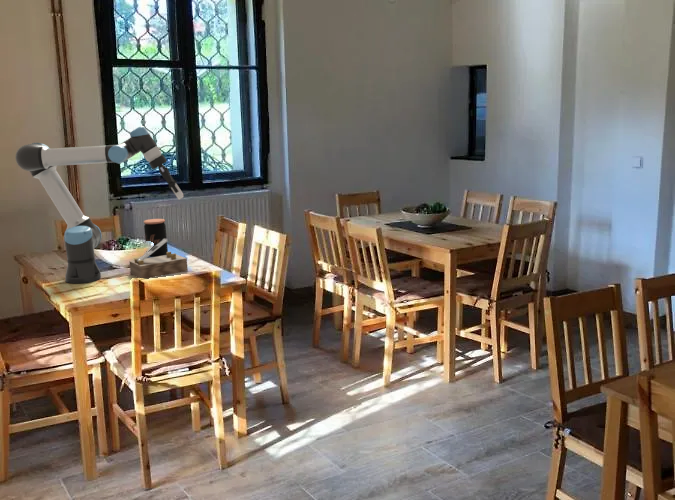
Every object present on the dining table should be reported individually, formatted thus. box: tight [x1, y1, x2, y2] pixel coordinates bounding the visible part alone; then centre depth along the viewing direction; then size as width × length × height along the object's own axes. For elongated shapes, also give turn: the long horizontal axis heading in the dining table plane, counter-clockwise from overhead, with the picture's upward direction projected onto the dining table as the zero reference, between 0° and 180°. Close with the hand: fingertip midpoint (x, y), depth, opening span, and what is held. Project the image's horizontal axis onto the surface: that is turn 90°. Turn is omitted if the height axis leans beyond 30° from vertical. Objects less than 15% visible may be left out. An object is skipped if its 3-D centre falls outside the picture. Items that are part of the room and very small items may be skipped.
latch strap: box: [136, 238, 169, 262], centre depth 325 cm, size 17×3×2 cm
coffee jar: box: [143, 218, 169, 258], centre depth 364 cm, size 11×11×18 cm
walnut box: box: [129, 251, 188, 279], centre depth 328 cm, size 22×14×8 cm, turn 126°
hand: (181, 197), depth 331 cm, fingers open, 13 cm apart
